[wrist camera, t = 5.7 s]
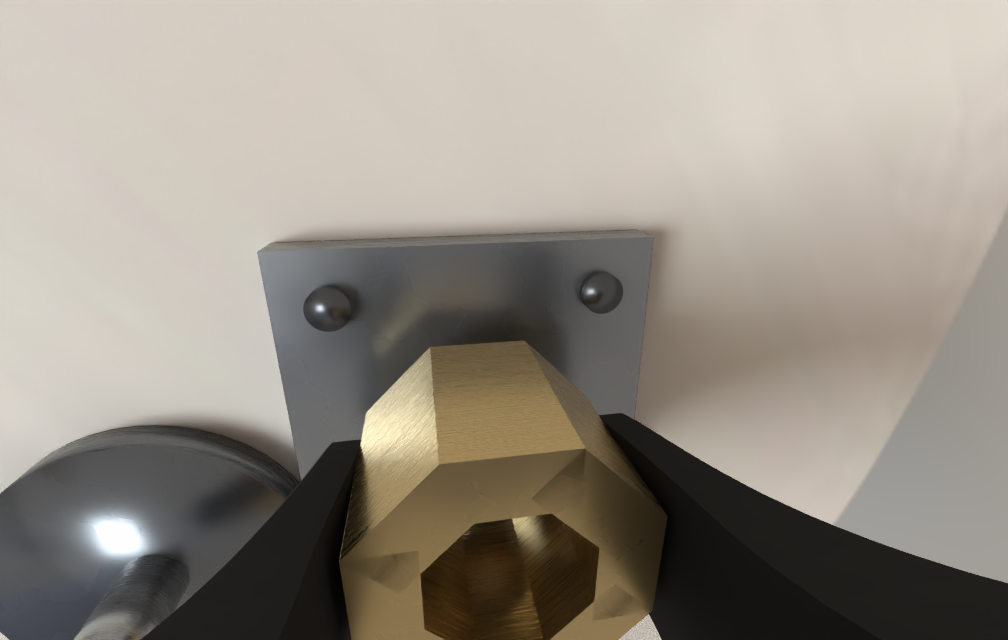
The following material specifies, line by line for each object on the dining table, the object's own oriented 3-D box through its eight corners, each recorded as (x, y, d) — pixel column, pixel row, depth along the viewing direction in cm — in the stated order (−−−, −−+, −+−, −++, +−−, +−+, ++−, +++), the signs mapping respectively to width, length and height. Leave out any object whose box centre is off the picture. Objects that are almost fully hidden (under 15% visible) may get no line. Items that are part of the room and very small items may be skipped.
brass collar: (575, 511, 12) (643, 667, 9) (380, 537, 12) (364, 721, 8) (587, 336, 11) (680, 437, 7) (359, 351, 10) (325, 476, 6)
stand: (339, 624, 15) (315, 778, 12) (60, 670, 14) (-69, 858, 10) (301, 411, 12) (252, 524, 9) (-54, 443, 11) (-287, 592, 7)
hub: (610, 503, 15) (670, 616, 12) (324, 541, 14) (292, 684, 10) (636, 230, 12) (730, 266, 9) (270, 243, 11) (195, 293, 7)
